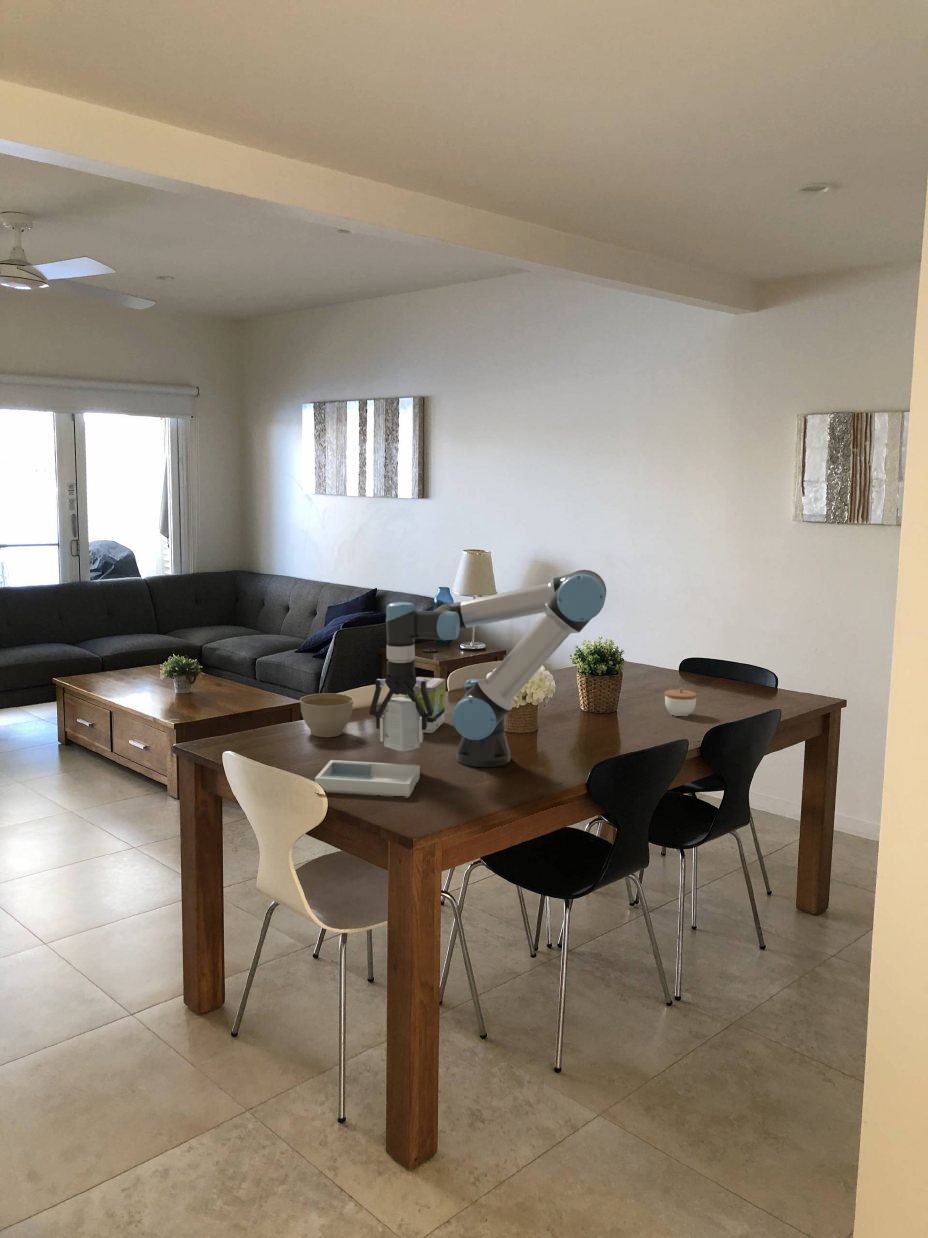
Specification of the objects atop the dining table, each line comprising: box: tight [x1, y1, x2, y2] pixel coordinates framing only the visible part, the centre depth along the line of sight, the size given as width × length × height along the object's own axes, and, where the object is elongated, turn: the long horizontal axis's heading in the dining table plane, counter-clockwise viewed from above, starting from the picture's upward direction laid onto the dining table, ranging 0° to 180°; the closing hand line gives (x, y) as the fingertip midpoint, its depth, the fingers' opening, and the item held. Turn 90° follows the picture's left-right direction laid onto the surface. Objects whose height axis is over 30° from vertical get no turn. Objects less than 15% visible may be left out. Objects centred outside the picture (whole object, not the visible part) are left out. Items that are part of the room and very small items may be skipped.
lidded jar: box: [664, 687, 698, 717], centre depth 336 cm, size 11×11×9 cm
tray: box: [314, 759, 421, 798], centre depth 253 cm, size 24×16×4 cm, turn 83°
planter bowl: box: [299, 692, 354, 738], centre depth 300 cm, size 16×16×11 cm
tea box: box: [404, 676, 447, 734], centre depth 312 cm, size 15×10×15 cm, turn 168°
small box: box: [382, 696, 421, 752], centre depth 267 cm, size 8×6×13 cm
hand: (401, 740), depth 267 cm, fingers closed on small box, 10 cm apart
